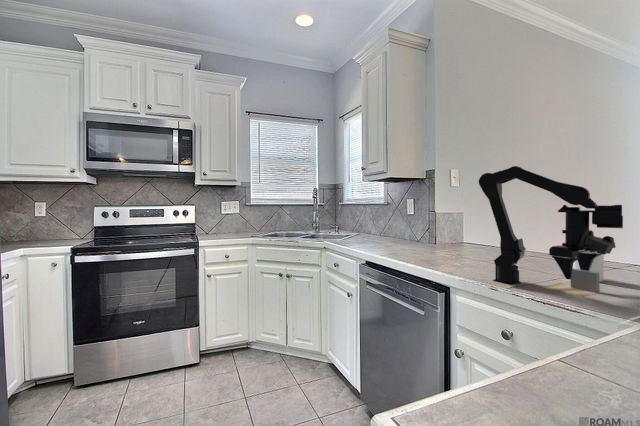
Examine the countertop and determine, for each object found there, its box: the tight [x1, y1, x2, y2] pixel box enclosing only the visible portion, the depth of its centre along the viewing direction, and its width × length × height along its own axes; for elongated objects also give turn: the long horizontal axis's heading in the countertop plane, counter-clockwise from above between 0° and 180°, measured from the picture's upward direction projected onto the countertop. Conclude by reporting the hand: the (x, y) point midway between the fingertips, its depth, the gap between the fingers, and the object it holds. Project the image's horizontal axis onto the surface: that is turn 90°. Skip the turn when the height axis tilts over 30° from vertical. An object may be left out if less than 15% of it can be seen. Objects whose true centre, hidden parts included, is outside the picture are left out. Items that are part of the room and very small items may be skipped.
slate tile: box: [569, 268, 601, 294], centre depth 99 cm, size 7×2×6 cm, turn 25°
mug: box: [573, 252, 605, 283], centre depth 114 cm, size 9×12×11 cm
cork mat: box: [541, 282, 604, 298], centre depth 100 cm, size 12×11×1 cm
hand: (576, 277), depth 98 cm, fingers open, 9 cm apart
